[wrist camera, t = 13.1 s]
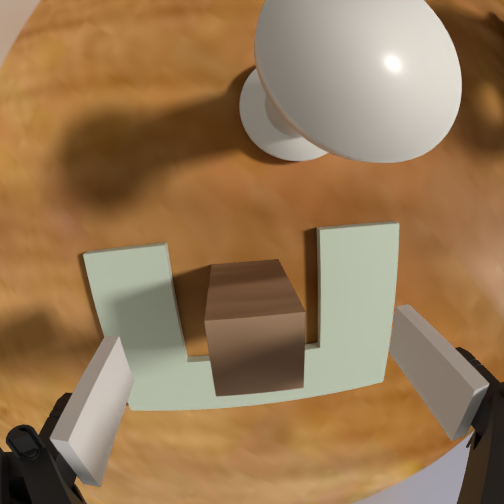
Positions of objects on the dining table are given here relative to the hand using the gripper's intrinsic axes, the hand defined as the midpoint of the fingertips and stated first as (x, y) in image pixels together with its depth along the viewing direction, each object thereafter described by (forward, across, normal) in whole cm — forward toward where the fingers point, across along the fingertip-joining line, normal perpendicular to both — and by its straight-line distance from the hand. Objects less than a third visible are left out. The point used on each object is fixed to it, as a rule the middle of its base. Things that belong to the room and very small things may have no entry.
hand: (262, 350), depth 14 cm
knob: (+9, +4, +11) cm, 15 cm away
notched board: (+8, 0, -4) cm, 9 cm away
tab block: (+8, 0, -1) cm, 8 cm away
